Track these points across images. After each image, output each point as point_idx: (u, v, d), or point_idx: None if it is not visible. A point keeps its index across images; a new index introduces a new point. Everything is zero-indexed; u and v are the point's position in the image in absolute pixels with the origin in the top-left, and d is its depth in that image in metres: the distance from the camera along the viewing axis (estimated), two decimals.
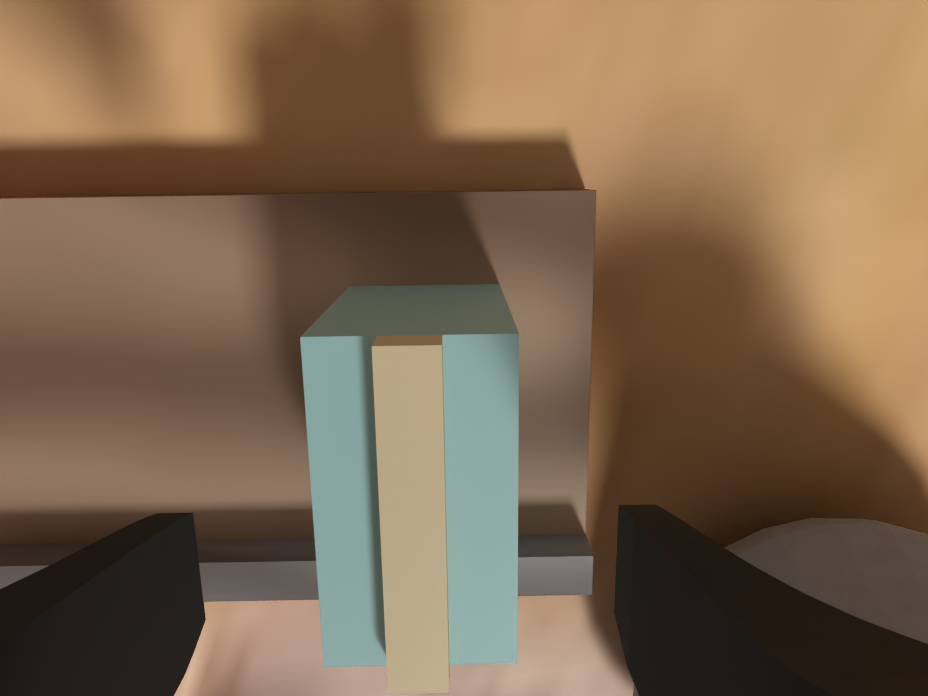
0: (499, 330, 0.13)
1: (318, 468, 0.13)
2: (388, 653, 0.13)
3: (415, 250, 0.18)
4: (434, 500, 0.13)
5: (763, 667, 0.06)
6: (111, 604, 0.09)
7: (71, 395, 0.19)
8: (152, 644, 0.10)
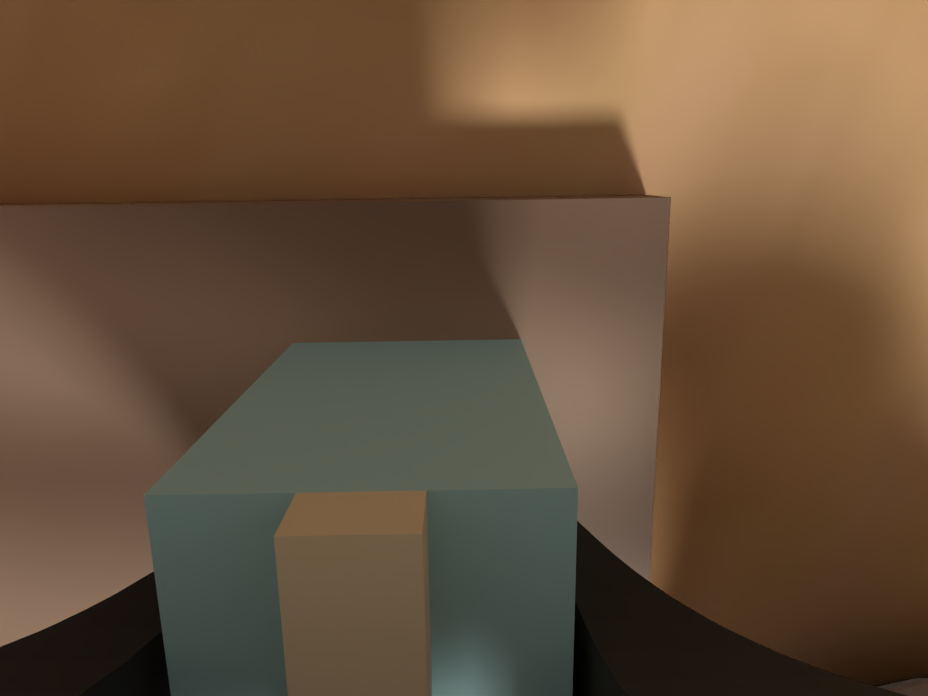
0: (537, 475, 0.07)
1: None
2: None
3: (392, 289, 0.12)
4: None
5: (598, 670, 0.06)
6: None
7: None
8: None
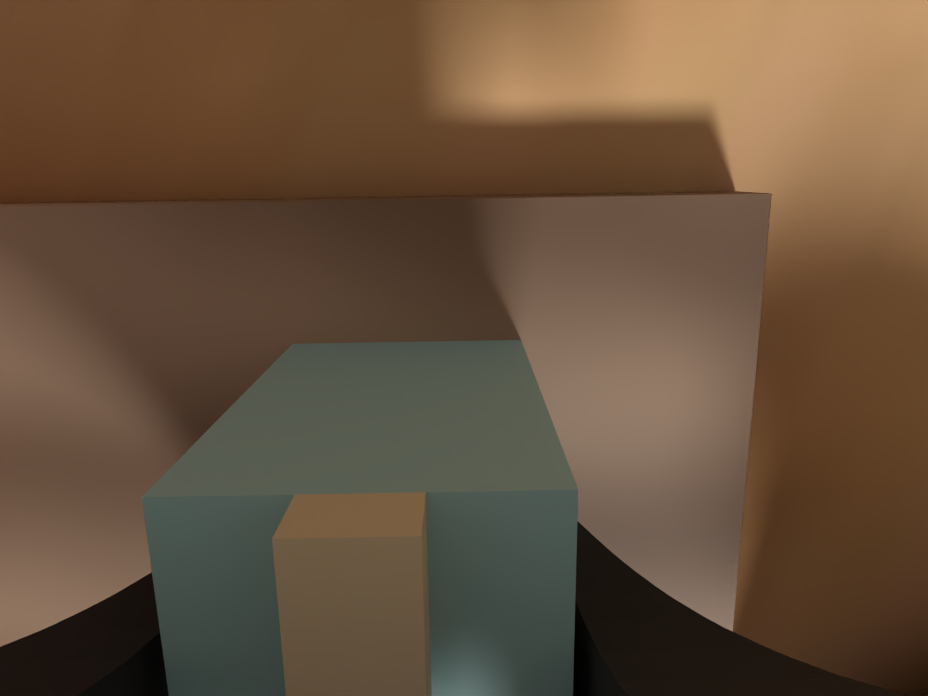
0: (537, 477, 0.07)
1: None
2: None
3: (490, 286, 0.12)
4: None
5: (598, 670, 0.06)
6: None
7: None
8: None
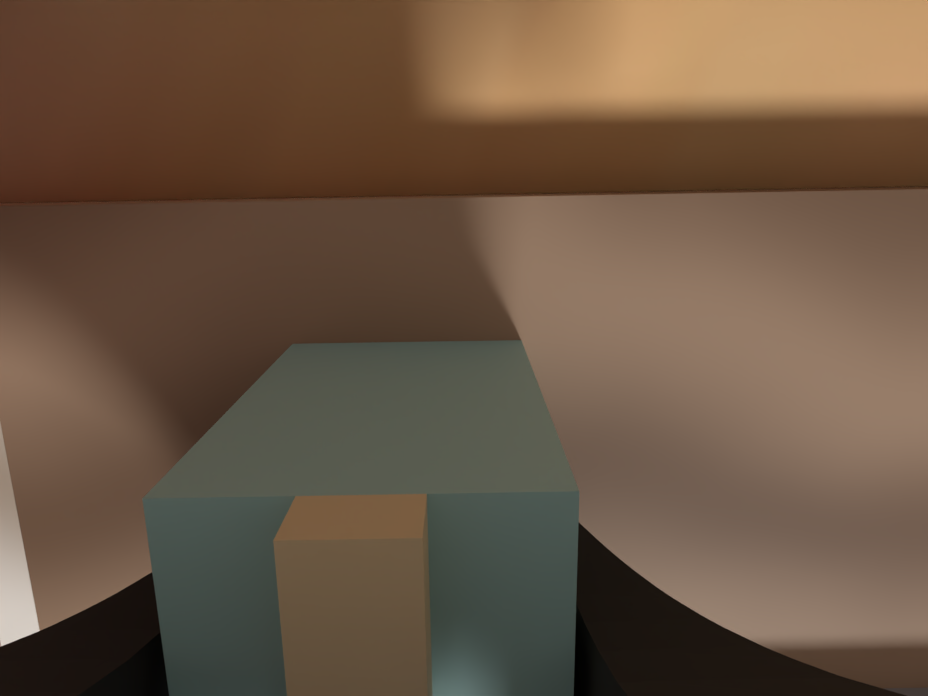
0: (538, 478, 0.07)
1: None
2: None
3: (901, 277, 0.12)
4: None
5: (598, 670, 0.06)
6: None
7: None
8: None
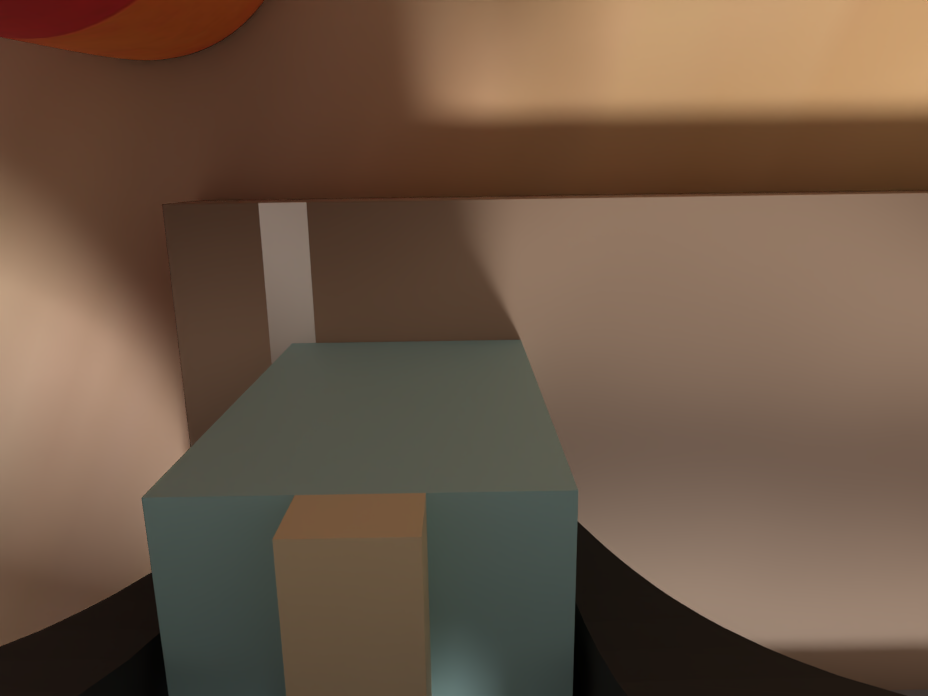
0: (537, 477, 0.07)
1: None
2: None
3: None
4: None
5: (598, 670, 0.06)
6: None
7: (665, 489, 0.13)
8: None
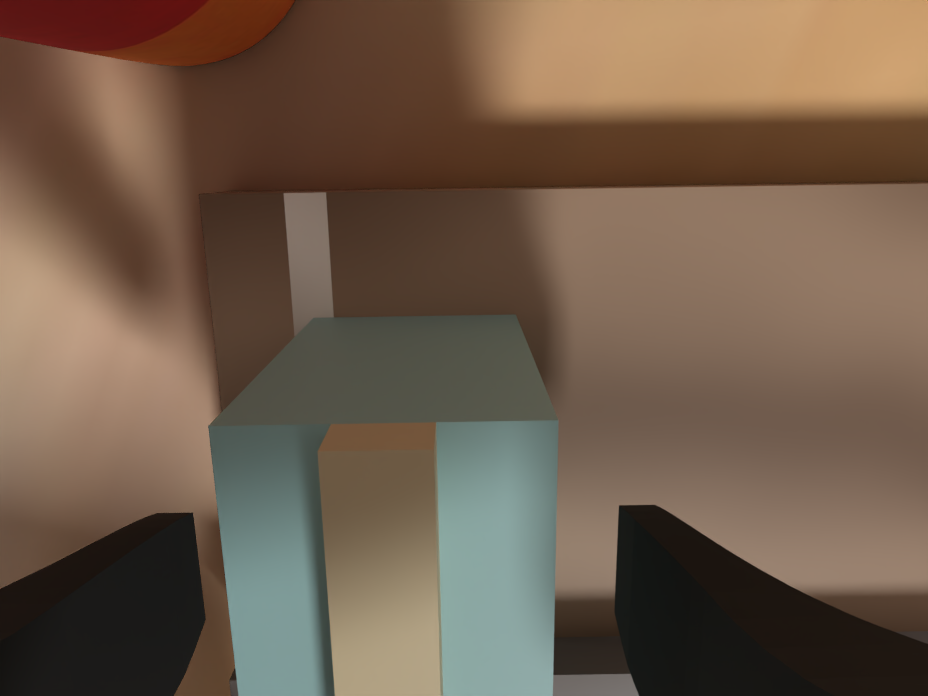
0: (526, 412, 0.08)
1: (243, 622, 0.09)
2: None
3: None
4: (423, 688, 0.08)
5: (763, 667, 0.06)
6: (111, 604, 0.09)
7: (645, 449, 0.15)
8: (152, 644, 0.10)
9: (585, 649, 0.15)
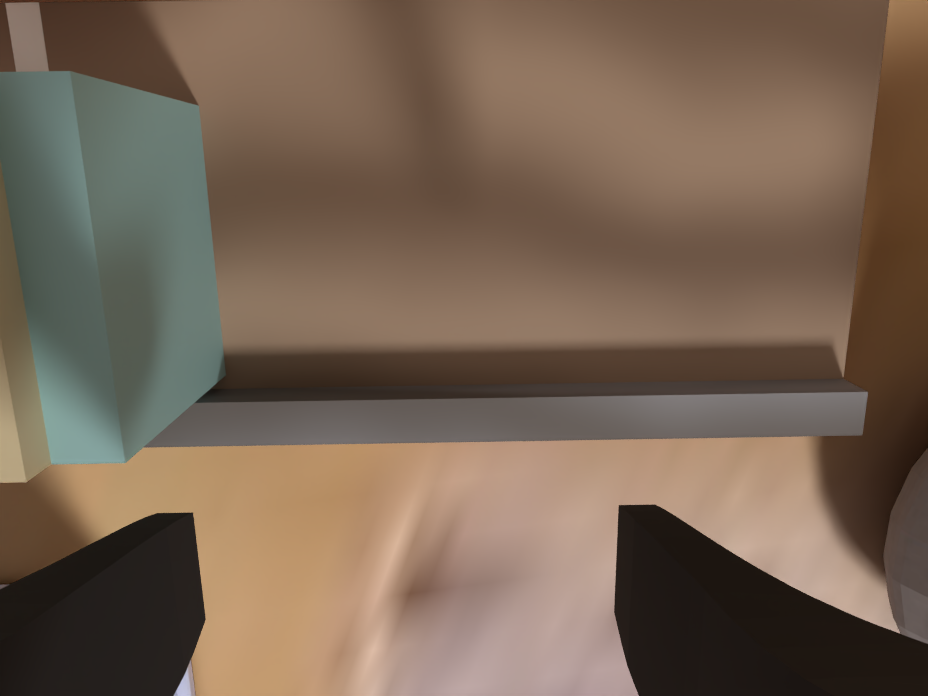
0: None
1: None
2: None
3: (692, 58, 0.17)
4: None
5: (763, 667, 0.06)
6: (111, 604, 0.09)
7: (315, 222, 0.18)
8: (152, 644, 0.10)
9: (278, 392, 0.19)
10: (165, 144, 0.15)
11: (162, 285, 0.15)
